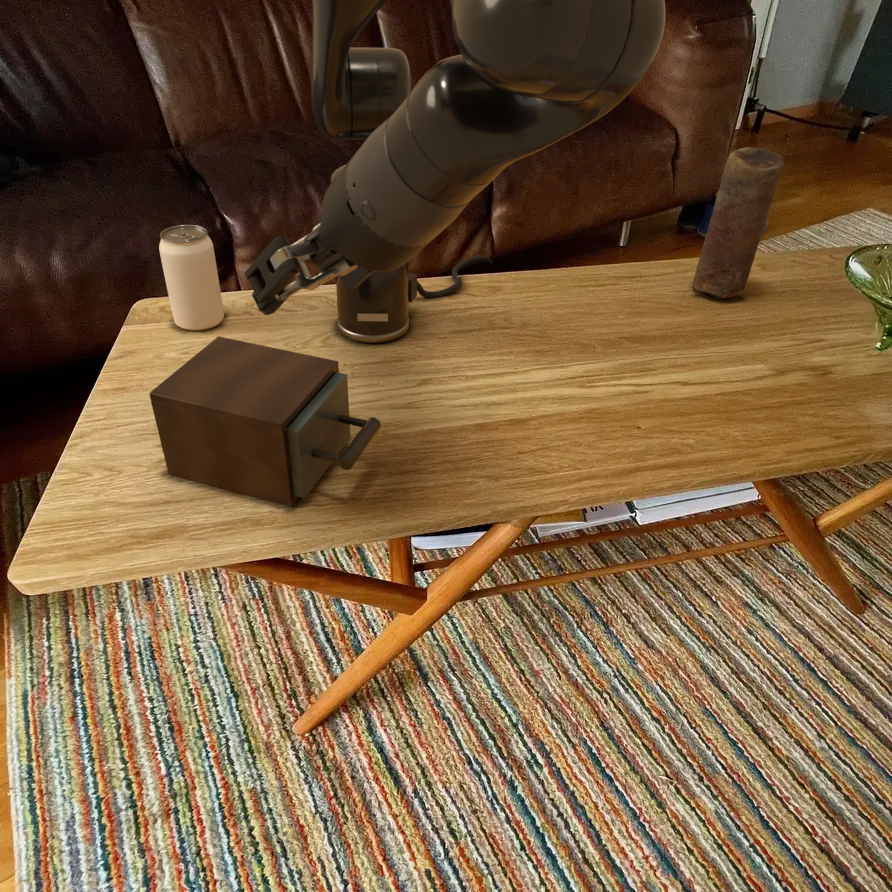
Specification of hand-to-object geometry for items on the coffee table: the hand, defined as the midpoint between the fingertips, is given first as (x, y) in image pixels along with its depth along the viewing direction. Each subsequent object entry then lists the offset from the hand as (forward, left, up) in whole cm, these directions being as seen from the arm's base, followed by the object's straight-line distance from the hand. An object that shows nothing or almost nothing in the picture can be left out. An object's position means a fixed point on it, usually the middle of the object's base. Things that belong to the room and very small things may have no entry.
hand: (306, 290), depth 64 cm
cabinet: (0, -7, -20) cm, 21 cm away
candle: (-59, +36, -20) cm, 72 cm away
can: (-23, -29, -20) cm, 43 cm away
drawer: (0, -3, -19) cm, 19 cm away
